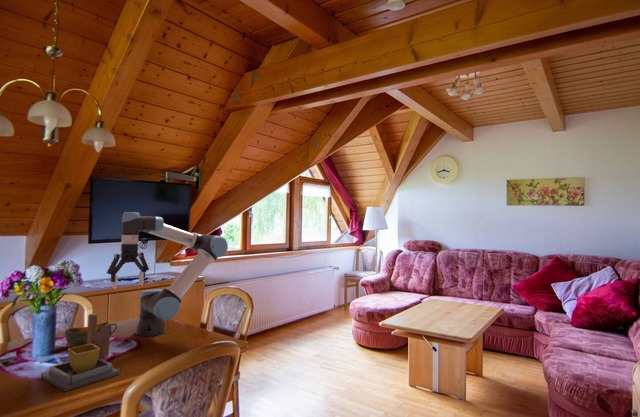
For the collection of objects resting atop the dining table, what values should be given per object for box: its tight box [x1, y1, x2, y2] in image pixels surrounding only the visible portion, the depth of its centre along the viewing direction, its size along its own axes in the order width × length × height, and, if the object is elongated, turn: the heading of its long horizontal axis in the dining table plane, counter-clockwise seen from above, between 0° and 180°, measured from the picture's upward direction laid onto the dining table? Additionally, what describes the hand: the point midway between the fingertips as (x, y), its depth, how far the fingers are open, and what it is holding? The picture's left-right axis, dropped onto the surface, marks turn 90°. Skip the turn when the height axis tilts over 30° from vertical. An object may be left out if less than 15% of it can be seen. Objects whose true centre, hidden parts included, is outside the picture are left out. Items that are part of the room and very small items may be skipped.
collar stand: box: [40, 357, 121, 393], centre depth 153 cm, size 20×20×4 cm
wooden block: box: [87, 313, 111, 359], centre depth 176 cm, size 4×11×18 cm, turn 72°
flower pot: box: [67, 344, 100, 374], centre depth 154 cm, size 9×9×9 cm
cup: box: [64, 321, 118, 348], centre depth 189 cm, size 13×20×10 cm, turn 85°
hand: (128, 286), depth 191 cm, fingers open, 13 cm apart
